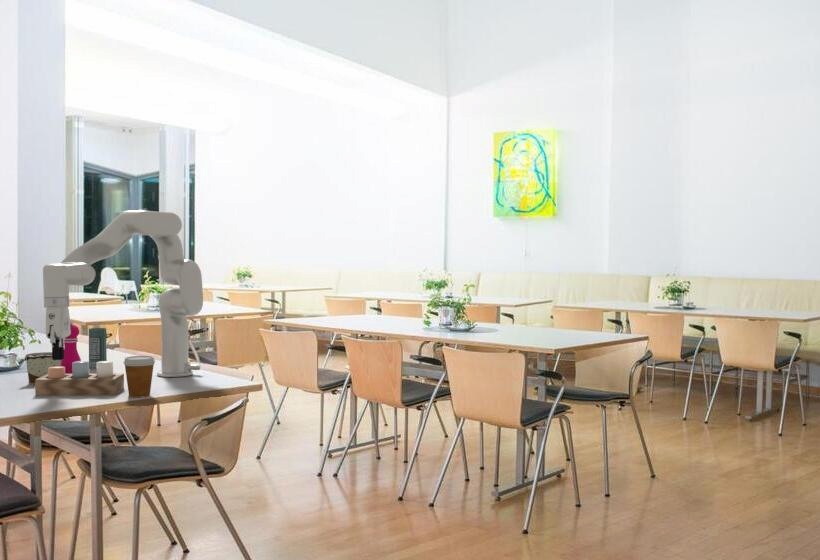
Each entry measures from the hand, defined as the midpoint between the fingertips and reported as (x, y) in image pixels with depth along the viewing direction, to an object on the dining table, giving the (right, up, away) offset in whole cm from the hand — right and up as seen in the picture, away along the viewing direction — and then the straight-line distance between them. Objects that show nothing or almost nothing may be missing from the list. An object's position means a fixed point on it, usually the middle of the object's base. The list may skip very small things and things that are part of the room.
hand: (58, 359), depth 265 cm
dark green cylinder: (-8, -9, +54) cm, 56 cm away
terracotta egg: (0, -9, 0) cm, 9 cm away
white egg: (+15, -7, +1) cm, 16 cm away
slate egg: (+7, -7, 0) cm, 10 cm away
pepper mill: (-10, -9, +34) cm, 37 cm away
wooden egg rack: (+7, -11, +1) cm, 13 cm away
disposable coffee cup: (+28, -11, -5) cm, 30 cm away
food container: (-13, -10, +19) cm, 25 cm away
